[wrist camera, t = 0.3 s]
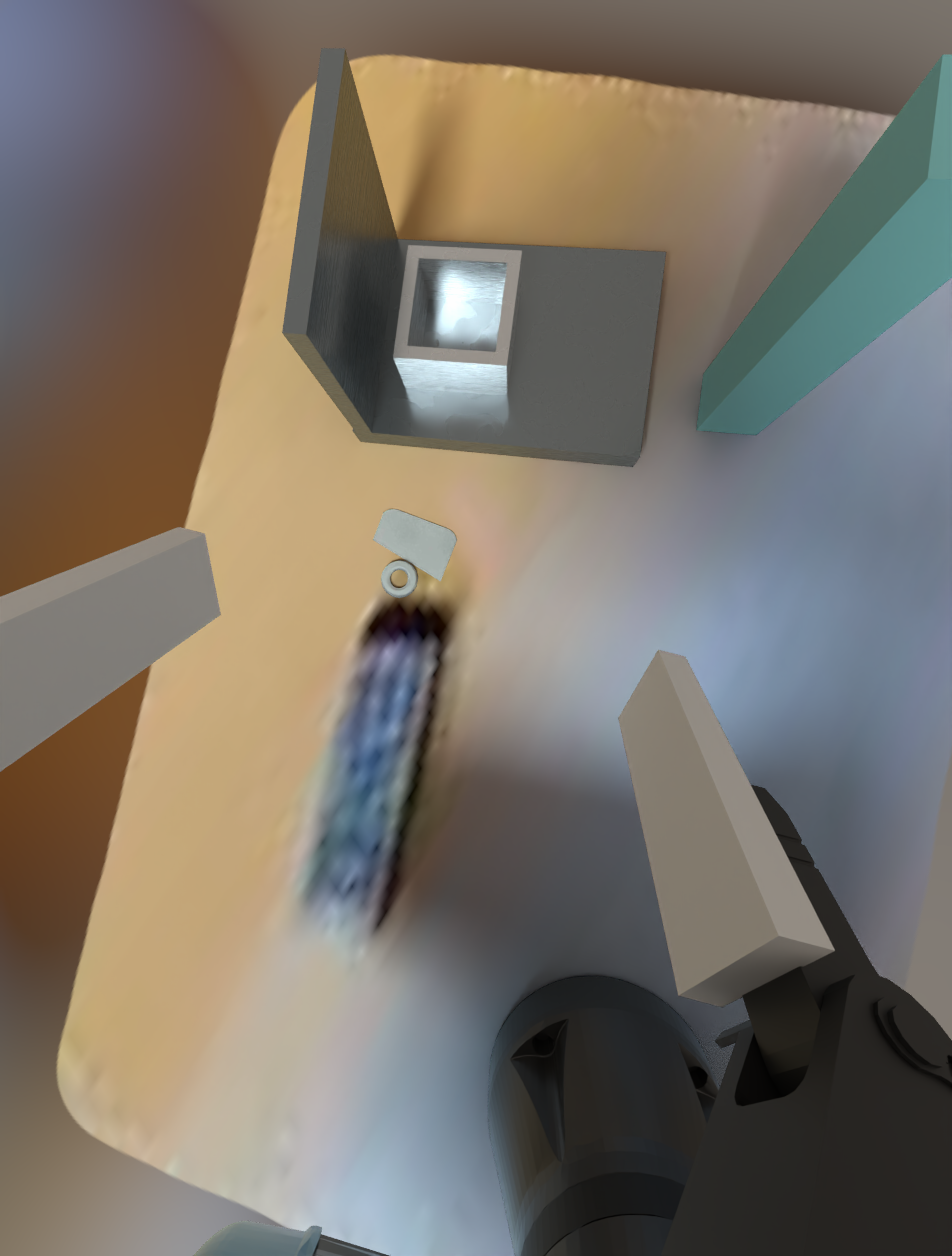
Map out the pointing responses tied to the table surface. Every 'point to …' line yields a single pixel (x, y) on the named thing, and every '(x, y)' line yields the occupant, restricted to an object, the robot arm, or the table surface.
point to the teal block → (846, 271)
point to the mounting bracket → (413, 548)
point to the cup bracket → (461, 317)
